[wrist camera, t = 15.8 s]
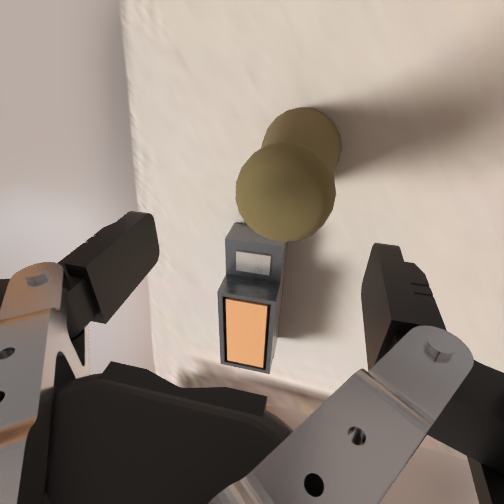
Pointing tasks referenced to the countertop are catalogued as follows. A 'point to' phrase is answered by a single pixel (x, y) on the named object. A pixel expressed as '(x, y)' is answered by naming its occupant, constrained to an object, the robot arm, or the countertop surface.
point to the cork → (291, 177)
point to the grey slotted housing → (252, 283)
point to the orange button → (247, 331)
